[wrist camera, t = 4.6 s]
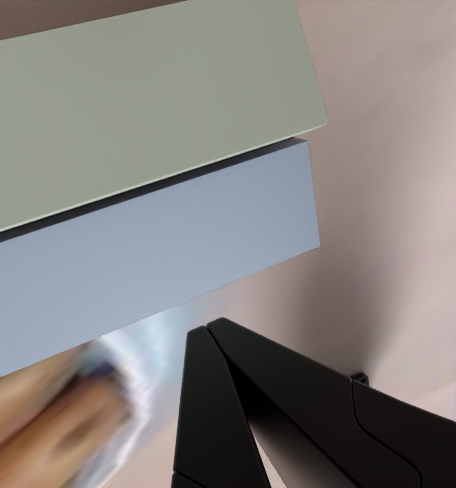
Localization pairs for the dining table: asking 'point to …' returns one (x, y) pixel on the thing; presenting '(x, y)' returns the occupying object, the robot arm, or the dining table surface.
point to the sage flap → (147, 99)
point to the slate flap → (151, 250)
